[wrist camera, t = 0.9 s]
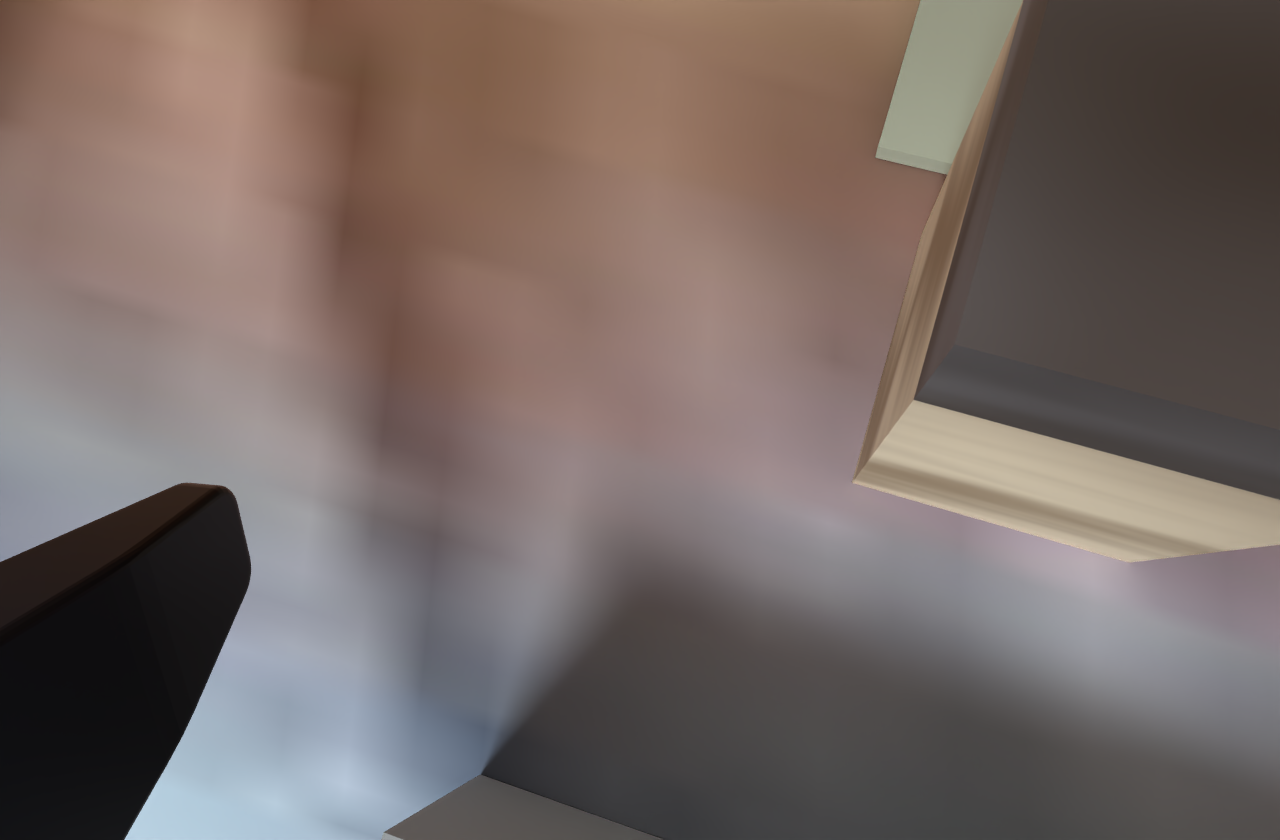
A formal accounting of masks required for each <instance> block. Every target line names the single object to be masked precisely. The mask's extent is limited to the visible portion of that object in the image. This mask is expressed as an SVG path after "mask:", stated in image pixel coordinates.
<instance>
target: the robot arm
mask: <svg viewBox="0 0 1280 840" xmlns="http://www.w3.org/2000/svg"><path fill="white" fill-rule="evenodd" d="M250 576H251V561H250V556H249V551H248V547H247V543H246V538H245V534H244V530H243V525H242V521H241V517H240V513H239V508H238V504H237V501H236V498H235V496H234V495H233V493H232V492H231V491H230V490H229V489H228V488H226V487H224V486H219V485H208V484H197V483H181V484H178V485H175V486H173V487H171V488H168V489H166V490H164V491H162V492H159V493H157V494H155V495H152V496H150V497H148V498H146V499H143V500H141V501H139V502H136V503H134V504H132V505H130V506H127V507H125V508H123V509H120V510H118V511H116V512H114V513H111V514H109V515H107V516H105V517H102V518H100V519H98V520H95V521H93V522H91V523H89V524H86V525H84V526H82V527H79V528H77V529H75V530H73V531H70V532H68V533H66V534H63V535H61V536H59V537H57V538H54V539H52V540H50V541H47V542H45V543H43V544H41V545H38V546H36V547H34V548H31V549H29V550H27V551H25V552H22V553H20V554H18V555H16V556H13V557H11V558H9V559H6V560H4V561H2V562H0V840H124V839H125V837H126V836H127V834H128V832H129V830H130V829H131V827H132V825H133V823H134V822H135V820H136V818H137V816H138V815H139V813H140V811H141V809H142V808H143V806H144V804H145V802H146V801H147V799H148V797H149V795H150V794H151V792H152V790H153V788H154V787H155V785H156V783H157V781H158V780H159V778H160V776H161V774H162V773H163V771H164V769H165V767H166V766H167V764H168V762H169V760H170V758H171V756H172V755H173V753H174V751H175V749H176V747H177V745H178V743H179V742H180V740H181V738H182V736H183V734H184V732H185V730H186V728H187V726H188V723H189V721H190V719H191V717H192V715H193V713H194V711H195V708H196V706H197V704H198V702H199V699H200V697H201V695H202V692H203V690H204V688H205V686H206V683H207V681H208V679H209V676H210V674H211V672H212V670H213V667H214V665H215V663H216V660H217V658H218V656H219V653H220V651H221V649H222V647H223V644H224V642H225V640H226V637H227V635H228V633H229V631H230V628H231V626H232V624H233V621H234V619H235V617H236V615H237V612H238V610H239V608H240V605H241V603H242V601H243V599H244V596H245V594H246V592H247V589H248V586H249V582H250Z"/></svg>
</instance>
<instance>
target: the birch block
mask: <svg viewBox="0 0 1280 840" xmlns="http://www.w3.org/2000/svg"><path fill="white" fill-rule="evenodd" d="M852 483H855V484H858V485H862V486H865V487H868V488H872V489H875V490H879V491H882V492H886V493H889V494H893V495H896V496H900V497H903V498H907V499H910V500H914V501H917V502H920V503H924V504H927V505H931V506H934V507H938V508H941V509H945V510H948V511H952V512H955V513H959V514H962V515H966V516H969V517H972V518H976V519H979V520H983V521H986V522H990V523H993V524H997V525H1000V526H1004V527H1007V528H1011V529H1014V530H1018V531H1021V532H1024V533H1028V534H1031V535H1035V536H1038V537H1042V538H1045V539H1049V540H1052V541H1056V542H1059V543H1063V544H1066V545H1070V546H1073V547H1076V548H1080V549H1083V550H1087V551H1090V552H1094V553H1097V554H1101V555H1104V556H1108V557H1111V558H1115V559H1118V560H1122V561H1125V562H1128V563H1129V562H1137V561H1146V560H1154V559H1163V558H1171V557H1180V556H1188V555H1196V554H1205V553H1213V552H1222V551H1230V550H1239V549H1247V548H1256V547H1264V546H1272V545H1280V0H1023V1H1022V4H1021V6H1020V8H1019V11H1018V13H1017V15H1016V18H1015V20H1014V22H1013V24H1012V27H1011V29H1010V31H1009V34H1008V36H1007V38H1006V41H1005V43H1004V45H1003V48H1002V50H1001V52H1000V54H999V57H998V59H997V61H996V64H995V66H994V68H993V71H992V73H991V75H990V78H989V80H988V82H987V84H986V87H985V89H984V91H983V94H982V96H981V98H980V101H979V103H978V105H977V107H976V110H975V112H974V114H973V117H972V119H971V121H970V124H969V126H968V128H967V131H966V133H965V135H964V137H963V140H962V142H961V144H960V147H959V149H958V151H957V154H956V156H955V158H954V160H953V163H952V165H951V167H950V170H949V172H948V174H947V177H946V179H945V181H944V184H943V186H942V188H941V190H940V193H939V195H938V197H937V200H936V202H935V204H934V207H933V209H932V211H931V213H930V216H929V218H928V220H927V223H926V225H925V227H924V230H923V232H922V235H921V238H920V242H919V245H918V249H917V253H916V256H915V260H914V263H913V267H912V270H911V274H910V277H909V281H908V285H907V288H906V292H905V295H904V299H903V302H902V306H901V310H900V313H899V317H898V320H897V324H896V327H895V331H894V334H893V338H892V342H891V345H890V349H889V352H888V356H887V359H886V363H885V367H884V370H883V374H882V377H881V381H880V384H879V388H878V392H877V395H876V399H875V402H874V406H873V409H872V413H871V416H870V420H869V424H868V427H867V431H866V434H865V438H864V441H863V445H862V449H861V452H860V456H859V459H858V463H857V466H856V470H855V473H854V477H853V481H852Z"/></svg>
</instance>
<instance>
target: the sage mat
mask: <svg viewBox="0 0 1280 840" xmlns="http://www.w3.org/2000/svg"><path fill="white" fill-rule="evenodd" d="M1022 1H1023V0H921V1H920V4H919V7H918V11H917V14H916V18H915V21H914V25H913V28H912V32H911V35H910V38H909V42H908V45H907V49H906V52H905V56H904V59H903V63H902V66H901V69H900V73H899V76H898V80H897V83H896V87H895V90H894V94H893V97H892V100H891V104H890V107H889V111H888V114H887V118H886V121H885V125H884V128H883V131H882V135H881V138H880V142H879V145H878V149H877V153H876V157H875V158H879V159H883V160H887V161H891V162H896V163H900V164H904V165H908V166H913V167H917V168H921V169H925V170H929V171H934V172H938V173H942V174H946V175H947V174H948V172H949V170H950V167H951V165H952V163H953V160H954V158H955V156H956V154H957V151H958V149H959V147H960V144H961V142H962V140H963V137H964V135H965V133H966V131H967V128H968V126H969V124H970V121H971V119H972V117H973V114H974V112H975V110H976V107H977V105H978V103H979V101H980V98H981V96H982V94H983V91H984V89H985V87H986V84H987V82H988V80H989V78H990V75H991V73H992V71H993V68H994V66H995V64H996V61H997V59H998V57H999V54H1000V52H1001V50H1002V48H1003V45H1004V43H1005V41H1006V38H1007V36H1008V34H1009V31H1010V29H1011V27H1012V24H1013V22H1014V20H1015V18H1016V15H1017V13H1018V11H1019V8H1020V6H1021V4H1022Z"/></svg>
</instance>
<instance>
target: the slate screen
mask: <svg viewBox="0 0 1280 840" xmlns="http://www.w3.org/2000/svg"><path fill="white" fill-rule="evenodd" d="M381 840H664V839H661V838H658V837H655V836H653V835H650V834H647V833H644V832H641V831H638V830H636V829H633V828H630V827H627V826H624V825H621V824H619V823H616V822H613V821H610V820H607V819H605V818H602V817H599V816H596V815H593V814H590V813H588V812H585V811H582V810H579V809H576V808H573V807H571V806H568V805H565V804H562V803H559V802H556V801H554V800H551V799H548V798H545V797H542V796H539V795H537V794H534V793H531V792H528V791H525V790H523V789H520V788H517V787H514V786H511V785H508V784H506V783H503V782H500V781H497V780H494V779H491V778H489V777H486V776H483V775H478V776H477V777H475V778H473V779H472V780H470V781H468V782H467V783H465V784H463V785H462V786H460V787H458V788H457V789H455V790H453V791H452V792H450V793H448V794H447V795H445V796H443V797H442V798H440V799H438V800H437V801H435V802H433V803H432V804H430V805H428V806H427V807H425V808H423V809H422V810H420V811H419V812H417V813H415V814H414V815H412V816H410V817H409V818H407V819H405V820H404V821H402V822H400V823H399V824H397V825H395V826H394V827H392V828H390V829H389V830H387V831H385V832H384V833H383V836H382V839H381Z"/></svg>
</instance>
